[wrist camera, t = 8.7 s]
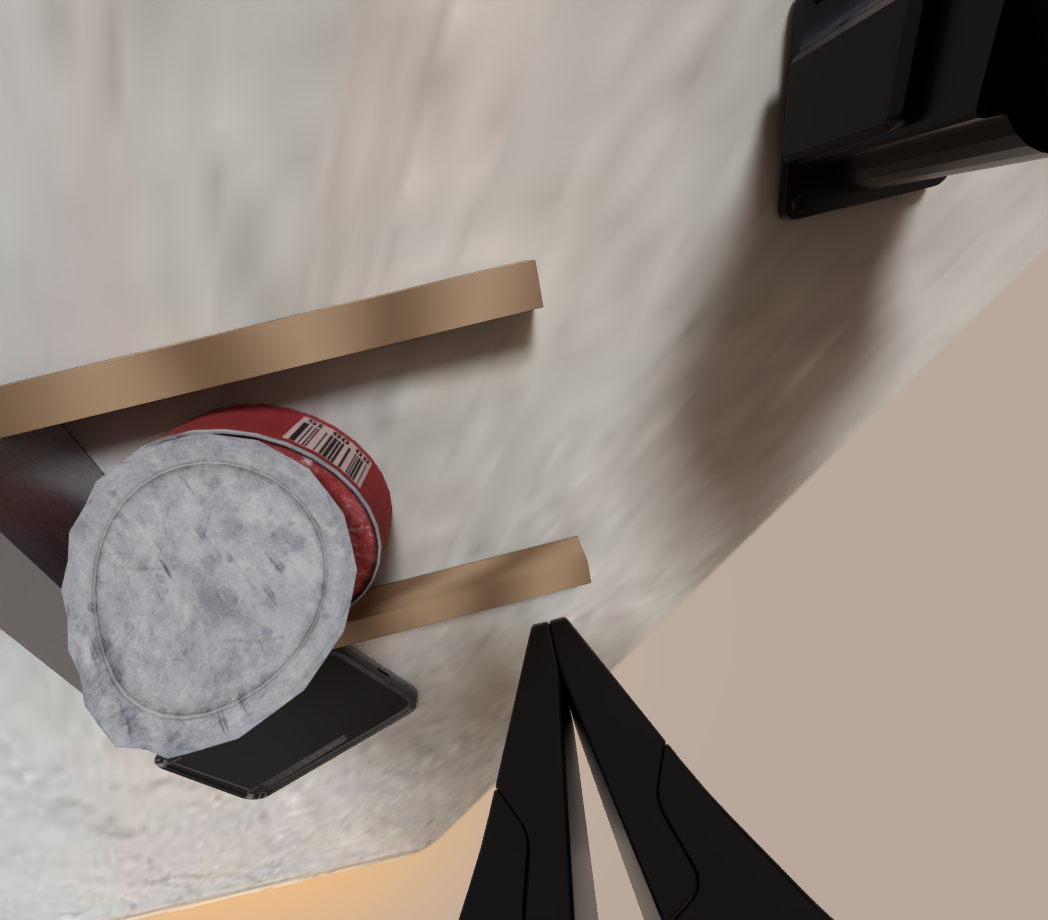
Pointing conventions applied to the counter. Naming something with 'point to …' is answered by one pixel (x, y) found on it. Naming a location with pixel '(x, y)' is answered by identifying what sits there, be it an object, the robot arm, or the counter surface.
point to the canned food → (219, 573)
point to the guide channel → (309, 343)
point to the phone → (303, 728)
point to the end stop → (40, 538)
